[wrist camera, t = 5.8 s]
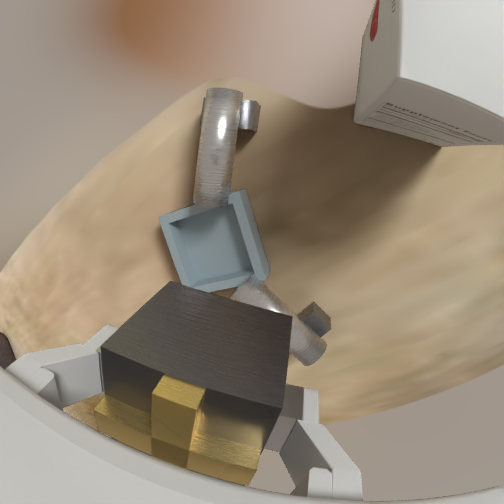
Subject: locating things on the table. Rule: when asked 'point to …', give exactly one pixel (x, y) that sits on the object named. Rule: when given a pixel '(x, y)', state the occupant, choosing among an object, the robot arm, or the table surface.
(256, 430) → the block
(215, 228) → the housing
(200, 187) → the shaft
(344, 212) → the table surface
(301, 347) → the shaft
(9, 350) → the perforated stone tool
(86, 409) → the table surface
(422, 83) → the supplement box
